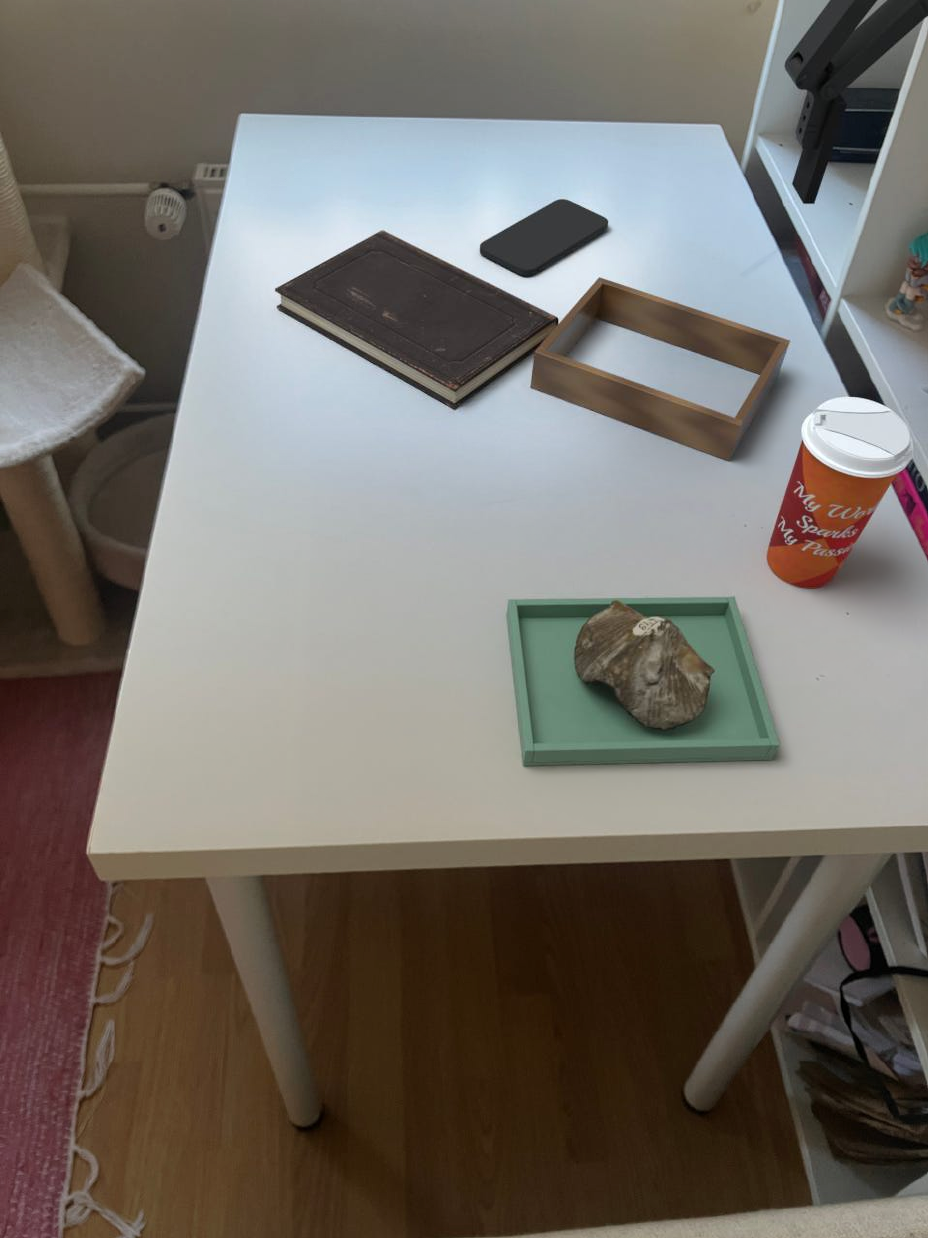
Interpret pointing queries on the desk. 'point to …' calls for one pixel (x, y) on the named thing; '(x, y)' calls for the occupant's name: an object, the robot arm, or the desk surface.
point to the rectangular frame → (647, 403)
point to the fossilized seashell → (643, 666)
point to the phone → (543, 237)
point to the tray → (592, 716)
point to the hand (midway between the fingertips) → (898, 195)
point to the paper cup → (835, 487)
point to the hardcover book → (417, 316)
